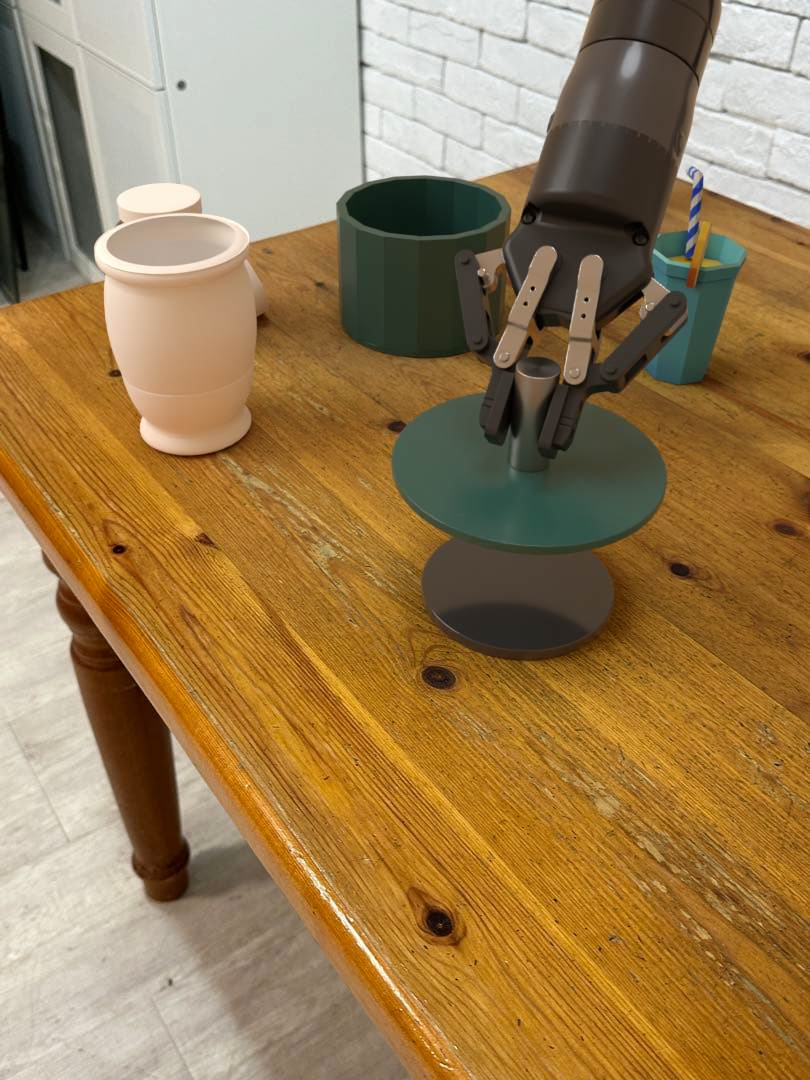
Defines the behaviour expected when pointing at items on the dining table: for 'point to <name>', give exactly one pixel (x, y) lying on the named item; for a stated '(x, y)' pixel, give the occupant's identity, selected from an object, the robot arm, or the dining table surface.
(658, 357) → the cup
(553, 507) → the lid
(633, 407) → the dining table surface
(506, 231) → the tin
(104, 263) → the jar
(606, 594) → the disc
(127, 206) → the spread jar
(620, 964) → the dining table surface
